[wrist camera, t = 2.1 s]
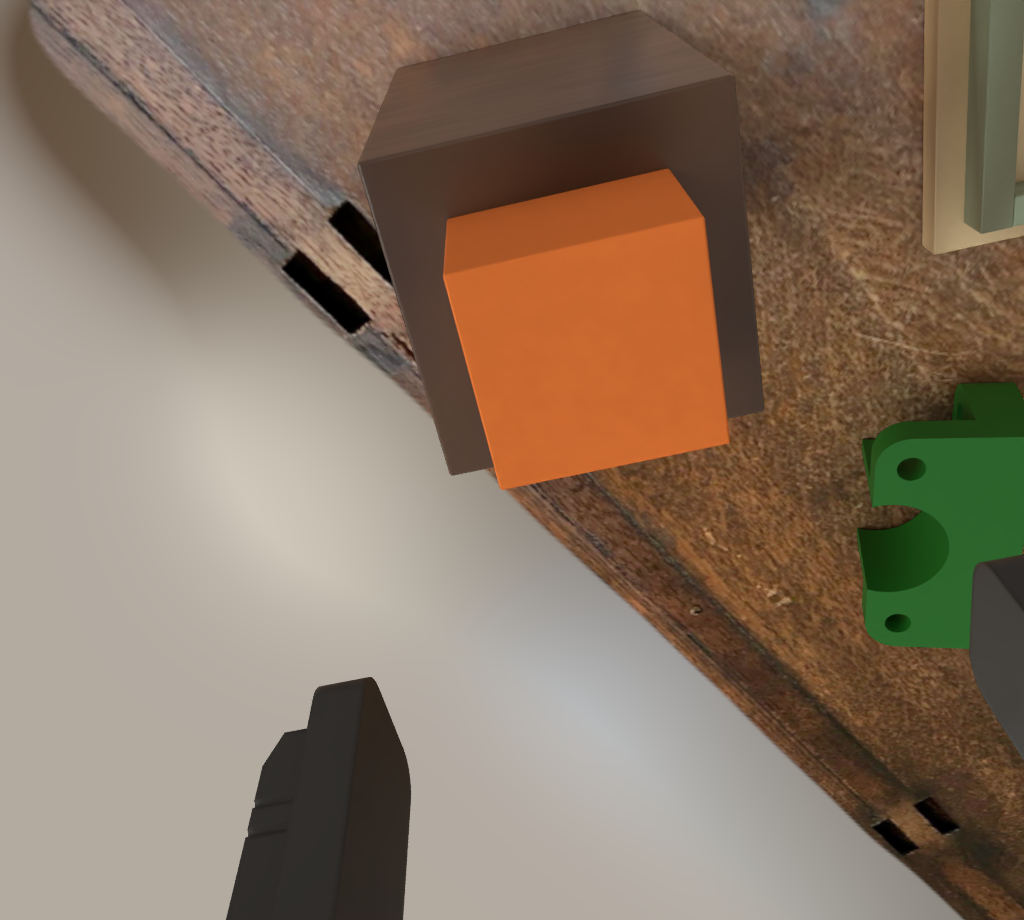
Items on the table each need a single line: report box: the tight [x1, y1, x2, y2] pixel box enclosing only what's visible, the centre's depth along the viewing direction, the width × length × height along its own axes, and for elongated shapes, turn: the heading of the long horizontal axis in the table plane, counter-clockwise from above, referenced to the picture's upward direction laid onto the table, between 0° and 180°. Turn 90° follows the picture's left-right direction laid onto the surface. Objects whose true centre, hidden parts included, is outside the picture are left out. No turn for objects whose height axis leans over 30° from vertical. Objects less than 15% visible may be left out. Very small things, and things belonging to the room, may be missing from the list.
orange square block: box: [443, 169, 730, 490], centre depth 22 cm, size 6×6×4 cm
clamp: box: [857, 382, 1024, 649], centre depth 42 cm, size 12×6×9 cm, turn 2°
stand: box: [357, 10, 764, 475], centre depth 30 cm, size 9×9×14 cm
